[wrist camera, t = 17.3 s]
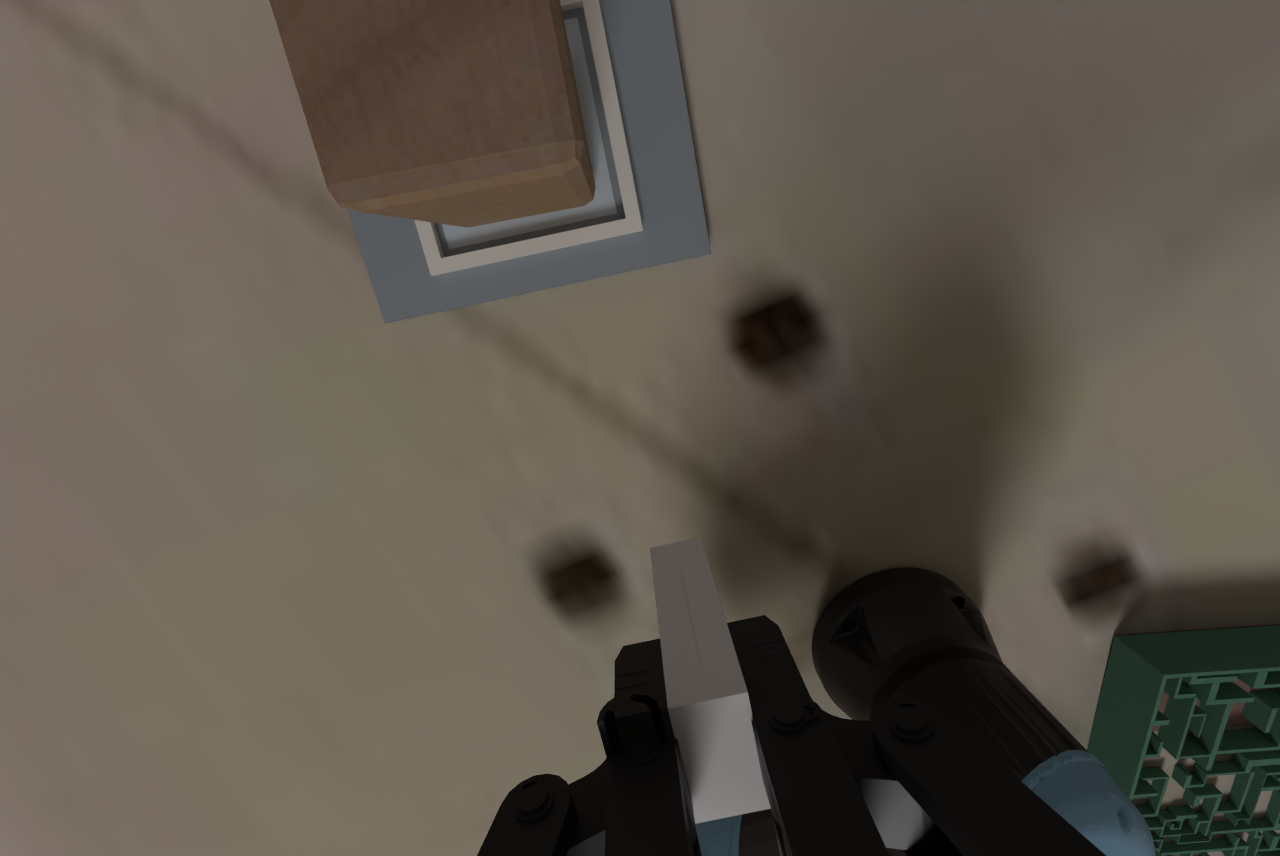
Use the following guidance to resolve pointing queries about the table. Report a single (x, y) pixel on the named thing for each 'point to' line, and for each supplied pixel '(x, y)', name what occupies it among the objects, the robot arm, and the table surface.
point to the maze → (1196, 733)
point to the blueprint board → (583, 236)
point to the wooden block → (440, 106)
